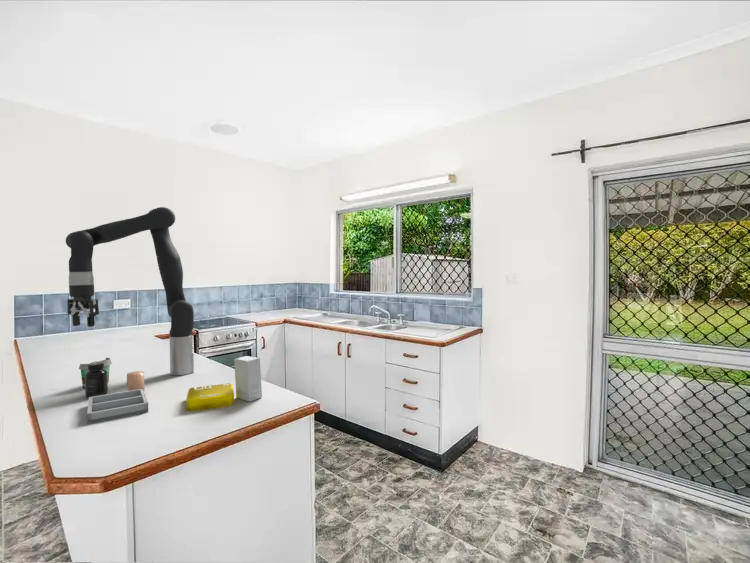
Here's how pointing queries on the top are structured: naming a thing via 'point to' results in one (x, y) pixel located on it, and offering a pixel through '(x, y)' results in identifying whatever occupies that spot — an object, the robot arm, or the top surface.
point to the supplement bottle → (96, 380)
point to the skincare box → (248, 378)
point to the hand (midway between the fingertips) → (83, 326)
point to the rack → (116, 405)
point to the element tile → (210, 397)
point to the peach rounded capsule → (135, 380)
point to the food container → (85, 369)
